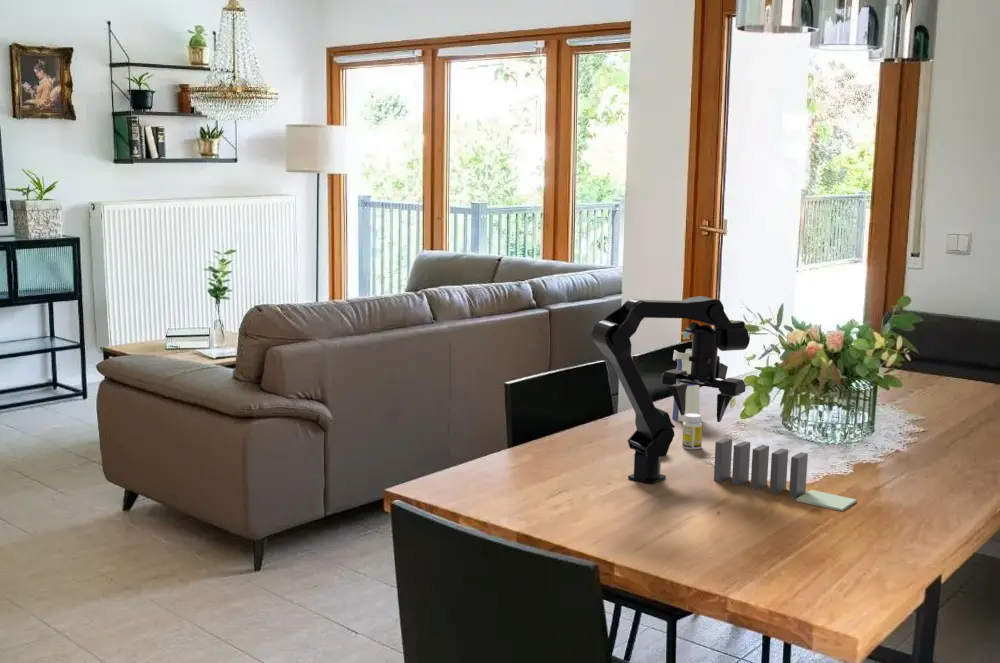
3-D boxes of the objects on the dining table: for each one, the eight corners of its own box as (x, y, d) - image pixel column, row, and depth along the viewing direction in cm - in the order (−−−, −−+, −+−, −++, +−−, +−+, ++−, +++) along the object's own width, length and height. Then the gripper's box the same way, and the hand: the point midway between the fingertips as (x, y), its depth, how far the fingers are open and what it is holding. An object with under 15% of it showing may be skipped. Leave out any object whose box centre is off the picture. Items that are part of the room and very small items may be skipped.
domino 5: (805, 493, 228) (807, 453, 227) (796, 498, 224) (798, 458, 223) (798, 491, 229) (800, 452, 228) (788, 497, 225) (791, 457, 224)
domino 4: (785, 488, 231) (788, 449, 229) (776, 494, 227) (778, 454, 226) (779, 487, 232) (781, 448, 230) (769, 492, 228) (771, 453, 226)
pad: (842, 511, 216) (842, 509, 216) (796, 500, 223) (796, 498, 223) (856, 501, 223) (856, 499, 222) (811, 492, 229) (811, 489, 229)
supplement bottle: (700, 445, 265) (701, 413, 264) (702, 450, 261) (703, 417, 259) (681, 444, 266) (682, 412, 264) (682, 449, 261) (684, 417, 260)
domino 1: (730, 476, 239) (732, 438, 238) (720, 481, 235) (722, 443, 234) (724, 475, 240) (725, 437, 239) (713, 480, 236) (715, 442, 235)
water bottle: (663, 416, 294) (666, 329, 290) (688, 413, 298) (692, 327, 294) (680, 423, 287) (683, 334, 283) (705, 420, 290) (709, 332, 286)
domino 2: (748, 480, 236) (750, 442, 235) (738, 485, 233) (740, 446, 231) (742, 479, 237) (743, 441, 236) (731, 484, 234) (733, 445, 232)
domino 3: (767, 484, 234) (769, 446, 232) (757, 490, 230) (759, 450, 228) (760, 483, 235) (762, 444, 233) (750, 488, 231) (752, 449, 229)
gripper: (757, 352, 239) (753, 418, 241) (684, 342, 250) (680, 406, 252) (736, 359, 230) (732, 427, 232) (661, 348, 241) (658, 414, 243)
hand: (700, 418), depth 240 cm, fingers open, 9 cm apart
